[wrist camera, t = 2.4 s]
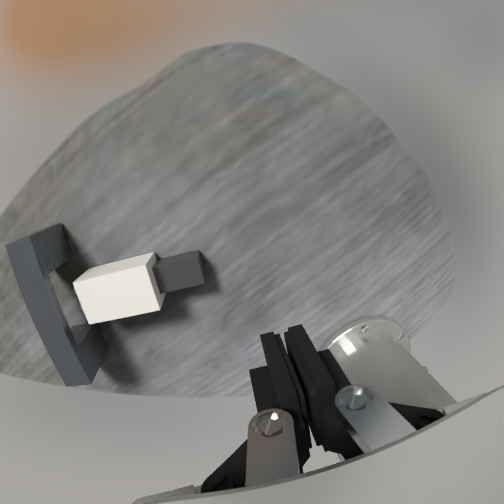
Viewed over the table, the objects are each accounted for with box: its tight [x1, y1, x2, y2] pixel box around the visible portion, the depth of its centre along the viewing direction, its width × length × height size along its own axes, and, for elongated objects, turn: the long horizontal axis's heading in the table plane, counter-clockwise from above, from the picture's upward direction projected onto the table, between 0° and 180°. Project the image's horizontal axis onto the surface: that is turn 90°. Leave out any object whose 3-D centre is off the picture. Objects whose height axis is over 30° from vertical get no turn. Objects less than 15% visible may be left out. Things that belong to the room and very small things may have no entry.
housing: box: [5, 223, 108, 386], centre depth 24 cm, size 3×14×6 cm, turn 12°
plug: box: [73, 250, 205, 324], centre depth 26 cm, size 12×4×4 cm, turn 102°
